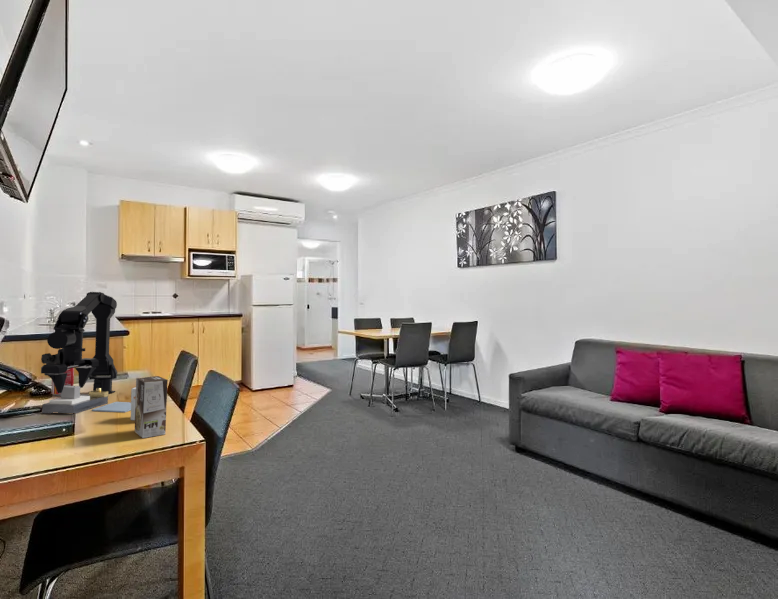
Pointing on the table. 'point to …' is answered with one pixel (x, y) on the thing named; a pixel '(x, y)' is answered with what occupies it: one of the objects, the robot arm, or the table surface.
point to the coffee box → (150, 406)
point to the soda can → (68, 381)
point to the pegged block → (98, 393)
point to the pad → (115, 407)
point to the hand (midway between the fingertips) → (70, 390)
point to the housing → (75, 405)
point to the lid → (70, 396)
